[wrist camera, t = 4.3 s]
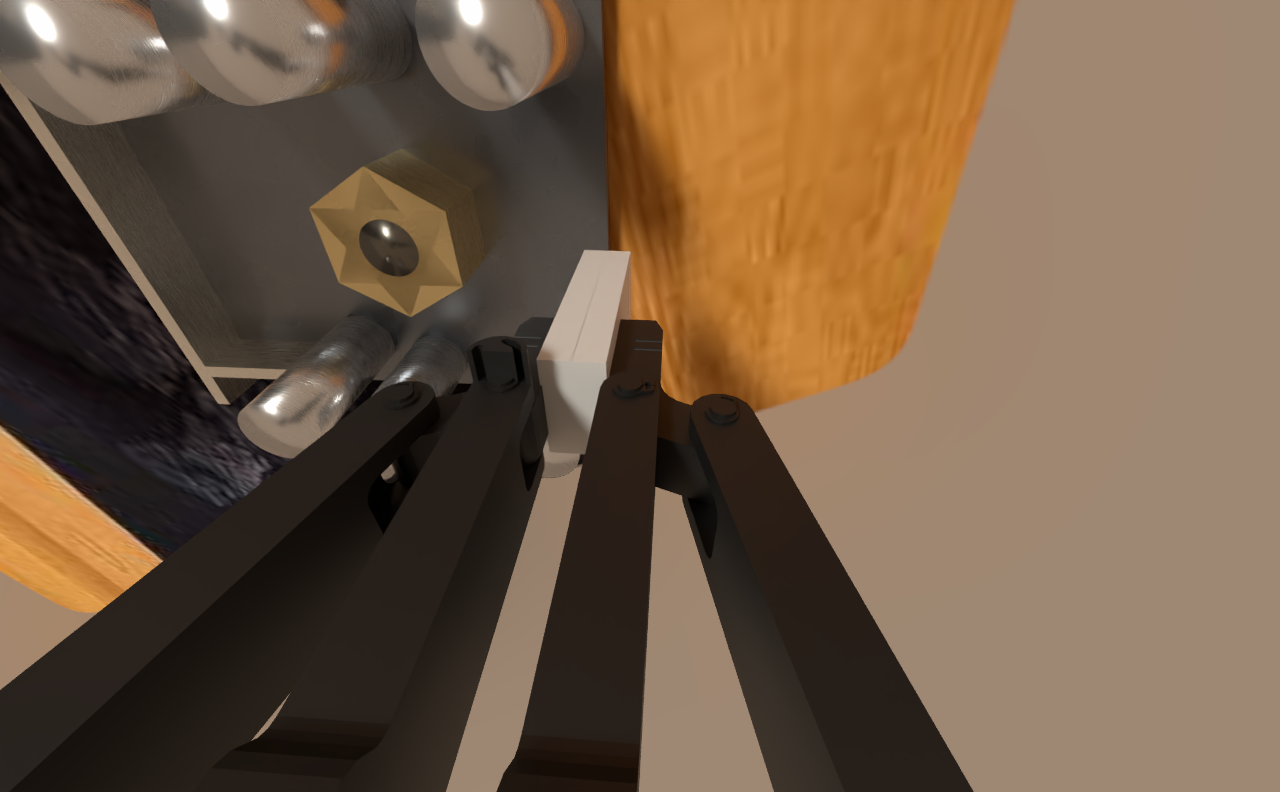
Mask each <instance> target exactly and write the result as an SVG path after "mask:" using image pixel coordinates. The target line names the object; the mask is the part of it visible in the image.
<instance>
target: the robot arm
mask: <svg viewBox="0 0 1280 792" xmlns="http://www.w3.org/2000/svg"><path fill="white" fill-rule="evenodd" d="M662 339H663V330H662V328H661V327H660V325H659V324H658V323H657V321H651V320H631V252H630V251H601V250H584V252H583V254H582V257H581V259H580V261H579V263H578V266H577V268H576V270H575V273H574V275H573V277H572V279H571V282H570V284H569V286H568V289H567V291H566V293H565V295H564V298H563V300H562V302H561V305H560V307H559V309H558V311H557V314H556V316H555V318H546V317H531V318H530V319H528V320H527V321H525V322H524V323H522V324H521V325H520V326H519V328H518V330H517V331H516V333H515V335H514V337H509V336H493V337H489V338H485V339H481V340H479V341H477V342H475V343H473V344H471V345H470V346H469V347H468V348H467V349H466V354H467V358H468V362H469V366H470V370H471V374H472V379H473V383H472V385H471V386H470V388H469V390H468V391H467V392H464V393H459V394H453V395H447V396H440V397H436V395H435V392H434V390H433V388H432V387H431V386H430V385H429V384H426V383H424V382H419V381H405V382H399V383H396V384H393V385H390V386H387V387H385V388H383V389H382V390H380V391H378V392H377V393H375V394H374V395H373V396H371V397H370V398H369V399H368V400H366V401H365V402H364V403H363V404H361V405H360V406H359V407H358V408H356V409H355V410H354V411H353V412H351V413H350V414H349V415H347V416H346V417H345V418H344V419H342V420H341V421H340V422H339V423H337V424H336V425H335V426H334V427H332V428H331V429H330V430H328V431H327V432H326V433H325V434H323V435H322V436H321V437H320V438H318V439H317V440H316V441H315V442H313V443H312V444H311V445H310V446H308V447H307V448H306V449H304V450H303V451H302V452H301V453H299V454H298V455H297V456H296V457H294V458H293V459H292V460H291V461H289V462H288V463H287V464H286V465H284V466H283V467H282V468H280V469H279V470H278V471H277V472H275V473H274V474H273V475H272V476H270V477H269V478H268V479H267V480H265V481H264V482H263V483H261V484H260V485H259V486H258V487H256V488H255V489H254V490H253V491H251V492H250V493H249V494H248V495H246V496H245V497H244V498H243V499H241V500H240V501H239V502H237V503H236V504H235V505H234V506H232V507H231V508H230V509H229V510H227V511H226V512H225V513H224V514H222V515H221V516H220V517H218V518H217V519H216V520H215V521H213V522H212V523H211V524H210V525H208V526H207V527H206V528H205V529H203V530H202V531H201V532H200V533H198V534H197V535H196V536H194V537H193V538H192V539H191V540H189V541H188V542H187V543H186V544H184V545H183V546H182V547H181V548H179V549H178V550H177V551H176V552H174V553H173V554H172V555H170V556H169V557H168V558H167V559H165V560H164V561H163V562H162V563H160V564H159V565H158V566H157V567H155V568H154V569H153V570H151V571H150V572H149V573H148V574H146V575H145V576H144V577H143V578H141V579H140V580H139V581H138V582H136V583H135V584H134V585H133V586H131V587H130V588H129V589H127V590H126V591H125V592H124V593H122V594H121V595H120V596H119V597H117V598H116V599H115V600H114V601H112V602H111V603H110V604H108V605H107V606H106V607H105V608H103V609H102V610H101V611H100V612H98V613H97V614H96V615H95V616H93V617H92V618H91V619H90V620H88V621H87V622H86V623H85V624H83V625H82V626H81V627H80V628H78V629H77V630H76V631H74V632H73V633H72V634H71V635H69V636H68V637H67V638H66V639H64V640H63V641H62V642H60V643H59V644H58V645H57V646H55V647H54V648H53V649H52V650H50V651H49V652H48V653H47V654H45V655H44V656H43V657H41V658H40V659H39V660H38V661H37V662H35V663H34V664H33V665H31V666H30V667H29V668H28V669H26V670H25V671H24V672H23V673H21V674H20V675H19V676H17V677H16V678H15V679H14V680H12V681H11V682H10V683H9V684H7V685H6V686H5V687H4V688H2V689H1V690H0V792H446V789H447V786H448V783H449V779H450V776H451V773H452V770H453V766H454V763H455V760H456V757H457V753H458V750H459V747H460V743H461V740H462V737H463V734H464V730H465V727H466V724H467V720H468V717H469V714H470V711H471V707H472V704H473V701H474V697H475V694H476V691H477V688H478V684H479V681H480V678H481V674H482V671H483V668H484V665H485V661H486V658H487V655H488V652H489V648H490V645H491V641H492V638H493V635H494V632H495V629H496V625H497V622H498V619H499V615H500V612H501V609H502V605H503V602H504V599H505V595H506V592H507V589H508V586H509V583H510V579H511V576H512V573H513V569H514V566H515V563H516V560H517V556H518V553H519V550H520V547H521V543H522V540H523V537H524V533H525V530H526V527H527V523H528V520H529V517H530V514H531V510H532V507H533V504H534V500H535V497H536V494H537V491H538V488H539V484H540V481H541V478H542V474H543V471H544V468H545V459H544V453H543V449H544V446H545V443H546V439H547V438H548V445H549V452H554V453H573V454H585V456H584V461H583V465H582V469H581V474H580V478H579V483H578V488H577V492H576V496H575V500H574V505H573V509H572V514H571V518H570V522H569V527H568V531H567V536H566V540H565V545H564V549H563V554H562V558H561V562H560V567H559V571H558V576H557V580H556V584H555V589H554V593H553V598H552V602H551V606H550V611H549V615H548V620H547V624H546V629H545V633H544V637H543V642H542V646H541V651H540V655H539V659H538V664H537V668H536V673H535V677H534V682H533V686H532V691H531V696H530V699H529V704H528V708H527V713H526V717H525V721H524V726H523V730H522V735H521V738H520V742H519V746H518V749H517V752H516V755H515V757H514V759H513V760H512V762H511V763H510V765H509V766H508V768H507V769H506V771H505V772H504V774H503V777H502V779H501V782H500V784H499V787H498V789H497V792H639V778H640V758H641V741H642V740H641V739H642V722H643V703H644V684H645V667H646V648H647V630H648V611H649V592H650V574H651V556H652V536H653V518H654V500H655V487H658V488H661V489H664V490H667V491H670V492H673V493H676V494H679V495H682V500H683V504H684V508H685V511H686V514H687V517H688V520H689V523H690V527H691V530H692V533H693V536H694V539H695V542H696V546H697V549H698V552H699V555H700V558H701V562H702V565H703V568H704V571H705V574H706V577H707V581H708V584H709V587H710V590H711V593H712V596H713V599H714V603H715V606H716V609H717V612H718V615H719V618H720V622H721V625H722V628H723V631H724V634H725V638H726V641H727V644H728V647H729V650H730V653H731V656H732V660H733V663H734V666H735V669H736V672H737V676H738V679H739V682H740V685H741V688H742V691H743V695H744V698H745V701H746V704H747V707H748V710H749V713H750V716H751V720H752V723H753V726H754V729H755V733H756V736H757V739H758V742H759V745H760V749H761V752H762V755H763V758H764V761H765V764H766V768H767V771H768V774H769V777H770V780H771V783H772V787H773V789H774V792H973V790H972V788H971V787H970V785H969V783H968V781H967V780H966V778H965V776H964V774H963V773H962V771H961V769H960V767H959V766H958V764H957V762H956V760H955V759H954V757H953V756H952V754H951V752H950V750H949V748H948V747H947V745H946V743H945V741H944V740H943V738H942V737H941V735H940V733H939V731H938V730H937V728H936V726H935V724H934V722H933V721H932V719H931V717H930V716H929V714H928V712H927V710H926V709H925V707H924V705H923V704H922V702H921V700H920V698H919V697H918V695H917V693H916V691H915V690H914V688H913V686H912V685H911V683H910V681H909V679H908V678H907V676H906V674H905V672H904V671H903V669H902V667H901V666H900V664H899V662H898V660H897V659H896V657H895V655H894V653H893V652H892V650H891V648H890V646H889V645H888V643H887V641H886V640H885V638H884V636H883V634H882V633H881V631H880V629H879V627H878V626H877V624H876V622H875V621H874V619H873V617H872V615H871V614H870V612H869V610H868V609H867V607H866V605H865V604H864V601H863V600H862V598H861V596H860V595H859V593H858V591H857V589H856V588H855V586H854V584H853V582H852V581H851V579H850V577H849V576H848V574H847V572H846V570H845V569H844V567H843V565H842V563H841V562H840V560H839V558H838V557H837V555H836V553H835V551H834V550H833V548H832V546H831V544H830V543H829V541H828V539H827V538H826V536H825V534H824V532H823V531H822V529H821V528H820V525H819V524H818V522H817V520H816V519H815V517H814V515H813V513H812V512H811V510H810V508H809V507H808V505H807V503H806V501H805V500H804V498H803V496H802V494H801V493H800V491H799V489H798V488H797V486H796V484H795V482H794V481H793V479H792V477H791V475H790V474H789V472H788V470H787V468H786V467H785V465H784V463H783V462H782V460H781V458H780V456H779V455H778V453H777V451H776V450H775V448H774V446H773V444H772V443H771V441H770V439H769V437H768V436H767V434H766V432H765V431H764V429H763V427H762V425H761V424H760V422H759V420H758V419H757V417H756V415H755V413H754V411H753V410H752V409H751V407H750V406H749V405H748V404H747V403H746V402H744V401H742V400H740V399H739V398H737V397H734V396H730V395H726V394H710V395H706V396H702V397H700V398H699V399H697V400H696V401H694V403H693V405H689V404H685V403H682V402H679V401H676V400H675V399H673V398H671V397H669V396H668V395H667V394H666V393H665V392H664V391H663V389H662V387H661V383H660V381H661V361H662ZM391 464H392V467H393V469H394V471H395V473H394V474H393V476H392V477H390V478H389V479H387V480H386V481H384V480H383V478H382V475H381V474H382V473H383V472H384V471H385V470H386V469H387V468H388V467H389V466H390V465H391ZM290 692H291V693H290ZM289 694H290V695H289ZM288 695H289V696H288ZM287 696H288V698H287V700H286V702H285V703H284V705H283V707H282V708H281V710H280V712H279V713H278V715H277V716H276V718H275V719H274V721H273V722H272V724H271V725H270V727H269V728H268V729H267V730H266V731H265V732H264V733H263V734H262V735H260V736H259V737H258V738H257V739H254V740H252V739H253V738H254V736H255V735H256V734H257V733H258V732H259V730H260V729H261V728H262V727H263V726H264V724H265V723H266V722H267V721H268V719H269V718H270V717H271V716H272V714H273V713H274V712H275V711H276V710H277V708H278V707H279V706H280V705H281V703H282V702H283V701H284V700H285V699H286V697H287ZM251 740H252V741H251Z"/></svg>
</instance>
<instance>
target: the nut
mask: <svg viewBox="0 0 1280 792" xmlns="http://www.w3.org/2000/svg"><path fill="white" fill-rule="evenodd" d="M309 209H310V212H311V214H312V217H313V219H314V222H315V224H316V227H317V229H318V232H319V234H320V237H321V239H322V242H323V244H324V247H325V249H326V252H327V254H328V257H329V259H330V262H331V264H332V267H333V269H334V272H335V274H336V277H337V279H338V282H339V283H341V284H343V285H345V286H347V287H349V288H351V289H353V290H355V291H357V292H359V293H362V294H364V295H366V296H368V297H370V298H372V299H374V300H376V301H378V302H380V303H382V304H385V305H387V306H389V307H391V308H393V309H395V310H397V311H399V312H401V313H403V314H405V315H408V316H410V317H412V316H413V315H415V314H417V313H419V312H420V311H422V310H424V309H425V308H427V307H429V306H431V305H432V304H434V303H436V302H437V301H439V300H441V299H442V298H444V297H446V296H448V295H449V294H451V293H453V292H454V291H456V290H458V289H459V288H461V287H463V286H464V284H465V283H466V282H467V281H468V279H469V278H470V277H471V276H472V274H473V273H474V272H475V271H476V269H477V268H478V267H479V266H480V264H481V263H482V262H483V261H484V259H485V258H486V256H485V251H484V246H483V241H482V236H481V231H480V225H479V220H478V215H477V210H476V205H475V199H474V194H473V189H471V188H469V187H468V186H466V185H464V184H463V183H461V182H459V181H457V180H456V179H454V178H452V177H450V176H449V175H447V174H445V173H443V172H442V171H440V170H438V169H436V168H435V167H433V166H431V165H429V164H428V163H426V162H424V161H423V160H421V159H419V158H417V157H416V156H414V155H412V154H410V153H409V152H407V151H405V150H403V149H400V150H398V151H396V152H393V153H391V154H389V155H387V156H385V157H382V158H380V159H378V160H376V161H374V162H371V163H369V164H367V165H365V166H363V167H361V168H360V169H359V170H358V171H356V172H355V173H354V174H352V175H351V176H350V177H348V178H347V179H346V180H345V181H343V182H342V183H341V184H339V185H338V186H337V187H335V188H334V189H333V190H332V191H330V192H329V193H328V194H326V195H325V196H324V197H323V198H321V199H320V200H319V201H317V202H316V203H315V204H313V205H312V206H311V207H310V208H309Z"/></svg>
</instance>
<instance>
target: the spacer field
mask: <svg viewBox="0 0 1280 792" xmlns="http://www.w3.org/2000/svg"><path fill="white" fill-rule="evenodd" d="M0 84H1V85H2V87H3V88H4V89H5V91H6V92H7V94H8V95H9V97H10V98H11V100H12V101H13V103H14V104H15V106H16V107H17V109H18V110H19V112H20V113H21V114H22V116H23V117H24V119H25V120H26V122H27V123H28V125H29V126H30V128H31V129H32V131H33V132H34V134H35V135H36V137H37V138H38V139H39V141H40V142H41V144H42V145H43V147H44V148H45V150H46V151H47V153H48V154H49V156H50V157H51V159H52V160H53V162H54V163H55V164H56V166H57V167H58V169H59V170H60V172H61V173H62V175H63V176H64V178H65V179H66V181H67V182H68V184H69V185H70V187H71V188H72V189H73V191H74V192H75V194H76V195H77V197H78V198H79V200H80V201H81V203H82V204H83V206H84V207H85V209H86V210H87V211H88V213H89V214H90V216H91V217H92V219H93V220H94V222H95V223H96V225H97V226H98V228H99V229H100V231H101V232H102V234H103V235H104V236H105V238H106V239H107V241H108V242H109V244H110V245H111V247H112V248H113V250H114V251H115V253H116V254H117V256H118V257H119V259H120V260H121V261H122V263H123V264H124V266H125V267H126V269H127V270H128V272H129V273H130V275H131V276H132V278H133V279H134V281H135V282H136V284H137V285H138V286H139V288H140V289H141V291H142V292H143V294H144V295H145V297H146V298H147V300H148V301H149V303H150V304H151V306H152V307H153V309H154V310H155V311H156V313H157V314H158V316H159V317H160V319H161V320H162V322H163V323H164V325H165V326H166V328H167V329H168V331H169V332H170V334H171V335H172V336H173V338H174V339H175V341H176V342H177V344H178V345H179V347H180V348H181V350H182V351H183V353H184V354H185V356H186V357H187V359H188V360H189V361H190V363H191V364H192V366H193V367H194V369H195V370H196V372H197V373H198V375H199V376H200V378H201V379H202V381H203V382H204V384H205V385H206V386H207V388H208V389H209V391H210V392H211V394H212V395H213V397H214V398H215V400H216V401H217V403H218V404H231V403H232V402H233V401H234V400H235V399H237V398H238V397H239V396H240V395H241V394H242V393H244V392H245V391H246V390H247V389H248V388H249V387H251V386H252V385H253V384H254V383H255V382H256V381H258V380H259V379H276V380H275V381H274V382H272V383H271V384H270V385H269V386H268V387H267V388H266V389H265V390H264V391H262V392H261V393H260V394H259V395H258V396H257V397H256V398H255V399H253V400H252V401H251V402H250V403H249V404H248V405H247V406H246V407H244V408H243V409H242V410H241V411H240V413H239V415H238V424H239V427H240V429H241V430H242V432H243V433H244V435H245V436H246V437H247V438H248V439H249V440H250V441H251V442H253V443H254V444H255V445H257V446H258V447H260V448H261V449H263V450H265V451H267V452H269V453H272V454H274V455H277V456H281V457H286V458H294V457H296V456H297V455H298V454H299V453H301V452H302V451H303V450H304V449H306V448H307V447H308V446H310V445H311V444H312V443H313V442H315V441H316V440H317V439H318V438H320V437H321V436H322V435H323V434H325V433H326V432H327V431H328V430H330V429H331V428H332V427H333V426H334V425H335V424H336V423H337V422H338V420H339V419H340V418H341V417H342V416H343V414H344V413H345V412H346V411H347V410H348V409H349V407H350V406H351V405H352V404H353V403H354V401H355V400H356V399H357V398H358V397H359V395H360V394H361V393H362V392H363V391H364V390H365V388H366V387H367V386H368V385H369V384H370V382H371V381H372V380H384V381H383V383H382V384H381V385H380V386H379V387H378V389H377V390H376V391H375V392H374V394H375V393H377V392H378V391H380V390H382V389H383V388H385V387H387V386H390V385H393V384H396V383H399V382H405V381H419V382H424V383H426V384H429V385H430V386H431V387H432V388H433V390H434V392H435V395H436V397H440V396H447V395H451V394H452V393H453V391H454V389H455V387H456V386H457V384H458V383H467V384H472V383H473V379H472V374H471V370H470V366H469V362H468V358H467V354H466V349H467V348H468V347H469V346H470V345H471V344H473V343H475V342H477V341H479V340H481V339H485V338H489V337H493V336H509V337H514V335H515V333H516V331H517V330H518V328H519V326H520V325H521V324H522V323H524V322H525V321H527V320H528V319H530V318H531V317H546V318H555V316H556V314H557V311H558V309H559V307H560V305H561V302H562V300H563V298H564V295H565V293H566V291H567V289H568V286H569V284H570V282H571V279H572V277H573V275H574V273H575V270H576V268H577V266H578V263H579V261H580V259H581V257H582V254H583V252H584V250H601V251H610V216H609V179H608V142H607V105H606V68H605V31H604V0H0ZM400 149H403V150H405V151H407V152H409V153H410V154H412V155H414V156H416V157H417V158H419V159H421V160H423V161H424V162H426V163H428V164H429V165H431V166H433V167H435V168H436V169H438V170H440V171H442V172H443V173H445V174H447V175H449V176H450V177H452V178H454V179H456V180H457V181H459V182H461V183H463V184H464V185H466V186H468V187H469V188H471V189H473V194H474V199H475V205H476V210H477V215H478V220H479V225H480V231H481V236H482V241H483V246H484V251H485V256H486V258H485V259H484V261H483V262H482V263H481V264H480V266H479V267H478V268H477V269H476V271H475V272H474V273H473V274H472V276H471V277H470V278H469V279H468V281H467V282H466V283H465V284H464V286H463V287H461V288H459V289H458V290H456V291H454V292H453V293H451V294H449V295H448V296H446V297H444V298H442V299H441V300H439V301H437V302H436V303H434V304H432V305H431V306H429V307H427V308H425V309H424V310H422V311H420V312H419V313H417V314H415V315H413V316H412V317H410V316H408V315H405V314H403V313H401V312H399V311H397V310H395V309H393V308H391V307H389V306H387V305H385V304H382V303H380V302H378V301H376V300H374V299H372V298H370V297H368V296H366V295H364V294H362V293H359V292H357V291H355V290H353V289H351V288H349V287H347V286H345V285H343V284H341V283H339V282H338V279H337V277H336V274H335V272H334V269H333V267H332V264H331V262H330V259H329V257H328V254H327V252H326V249H325V247H324V244H323V242H322V239H321V237H320V234H319V232H318V229H317V227H316V224H315V222H314V219H313V217H312V214H311V212H310V209H309V208H310V207H311V206H312V205H313V204H315V203H316V202H317V201H319V200H320V199H321V198H323V197H324V196H325V195H326V194H328V193H329V192H330V191H332V190H333V189H334V188H335V187H337V186H338V185H339V184H341V183H342V182H343V181H345V180H346V179H347V178H348V177H350V176H351V175H352V174H354V173H355V172H356V171H358V170H359V169H360V168H361V167H363V166H365V165H367V164H369V163H371V162H374V161H376V160H378V159H380V158H382V157H385V156H387V155H389V154H391V153H393V152H396V151H398V150H400ZM374 394H373V395H374ZM373 395H372V396H373ZM543 453H544V459H545V468H544V471H543V474H542V477H543V478H556V477H561V476H564V475H566V474H568V473H570V472H571V471H573V470H574V468H576V466H577V464H578V462H579V457H580V454H573V453H554V452H549V445H548V438H547V439H546V443H545V446H544V449H543ZM394 473H395V471H394V469H393V467H392V464H391V465H390V466H389V467H388V468H387V469H386V470H385V471H384V472H383V473H382V474H381V475H382V478H383V479H389V478H390V477H392V476H393V474H394Z"/></svg>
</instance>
